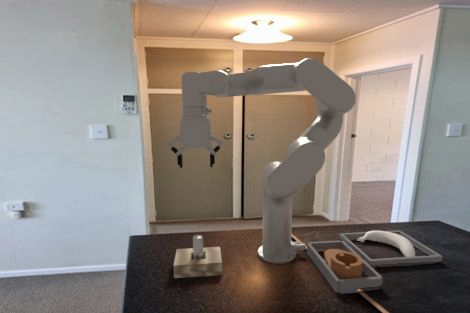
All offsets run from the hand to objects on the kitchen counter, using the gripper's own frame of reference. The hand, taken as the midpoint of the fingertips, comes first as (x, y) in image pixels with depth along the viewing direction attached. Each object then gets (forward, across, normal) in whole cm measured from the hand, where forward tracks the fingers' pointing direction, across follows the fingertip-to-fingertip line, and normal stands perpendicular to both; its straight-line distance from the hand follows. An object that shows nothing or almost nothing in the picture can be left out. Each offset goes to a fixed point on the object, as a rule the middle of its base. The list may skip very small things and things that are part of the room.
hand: (196, 166), depth 92 cm
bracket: (+31, -43, +15) cm, 55 cm away
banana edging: (+30, -64, +5) cm, 71 cm away
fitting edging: (+30, -43, +14) cm, 54 cm away
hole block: (+30, 0, +8) cm, 31 cm away
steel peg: (+30, 0, +8) cm, 31 cm away
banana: (+30, -64, +5) cm, 71 cm away
